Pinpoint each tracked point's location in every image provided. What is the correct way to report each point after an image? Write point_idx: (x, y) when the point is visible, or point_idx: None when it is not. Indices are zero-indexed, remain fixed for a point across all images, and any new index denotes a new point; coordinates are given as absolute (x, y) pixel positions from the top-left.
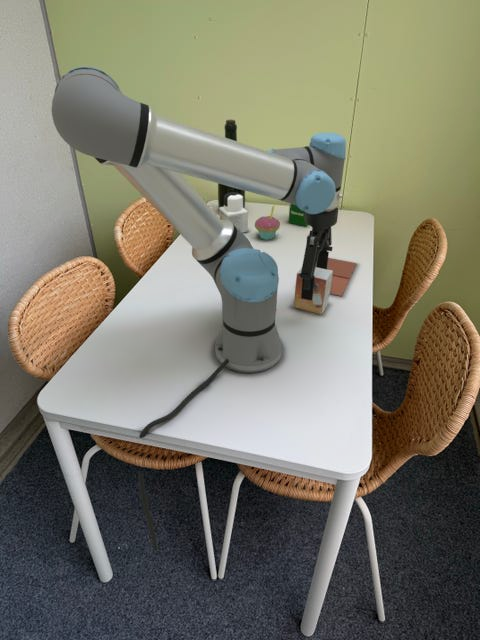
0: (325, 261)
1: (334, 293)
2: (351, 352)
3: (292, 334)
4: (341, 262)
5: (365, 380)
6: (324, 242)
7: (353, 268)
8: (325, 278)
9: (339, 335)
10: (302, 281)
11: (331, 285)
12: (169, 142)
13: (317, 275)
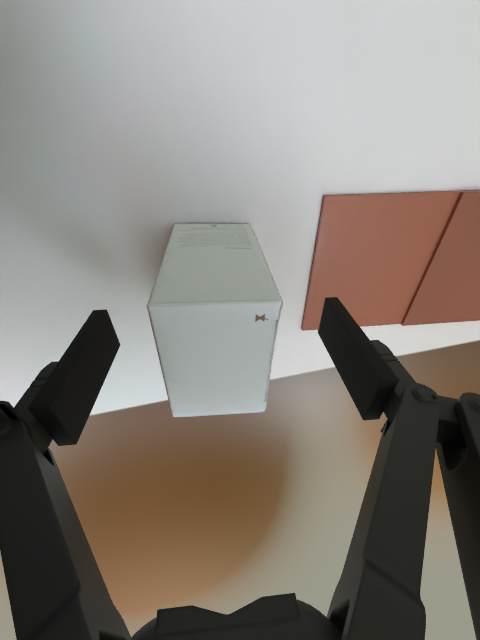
0: (343, 372)
1: (308, 312)
2: None
3: (33, 273)
4: None
5: None
6: (359, 519)
7: (462, 320)
8: (180, 413)
9: (127, 366)
10: (49, 375)
11: (354, 293)
12: None
13: (185, 388)
